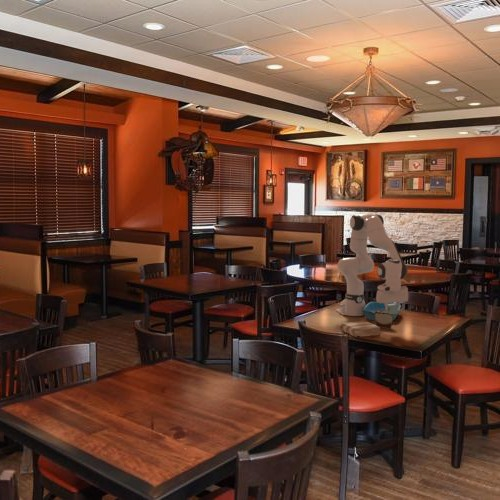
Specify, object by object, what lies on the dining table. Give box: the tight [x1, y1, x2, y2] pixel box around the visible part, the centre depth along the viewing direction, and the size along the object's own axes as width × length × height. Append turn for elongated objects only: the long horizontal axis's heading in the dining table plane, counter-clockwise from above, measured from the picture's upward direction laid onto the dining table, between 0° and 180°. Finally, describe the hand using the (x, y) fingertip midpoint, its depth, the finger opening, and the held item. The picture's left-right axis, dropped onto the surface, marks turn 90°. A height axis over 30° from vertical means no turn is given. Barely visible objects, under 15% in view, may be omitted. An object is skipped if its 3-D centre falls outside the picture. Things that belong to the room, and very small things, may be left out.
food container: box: [374, 310, 394, 329], centre depth 342 cm, size 12×6×10 cm, turn 59°
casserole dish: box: [363, 301, 402, 322], centre depth 370 cm, size 37×22×7 cm, turn 159°
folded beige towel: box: [341, 320, 381, 338], centre depth 328 cm, size 16×16×5 cm
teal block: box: [386, 304, 399, 315], centre depth 328 cm, size 5×5×5 cm
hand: (391, 309), depth 328 cm, fingers closed on teal block, 5 cm apart
